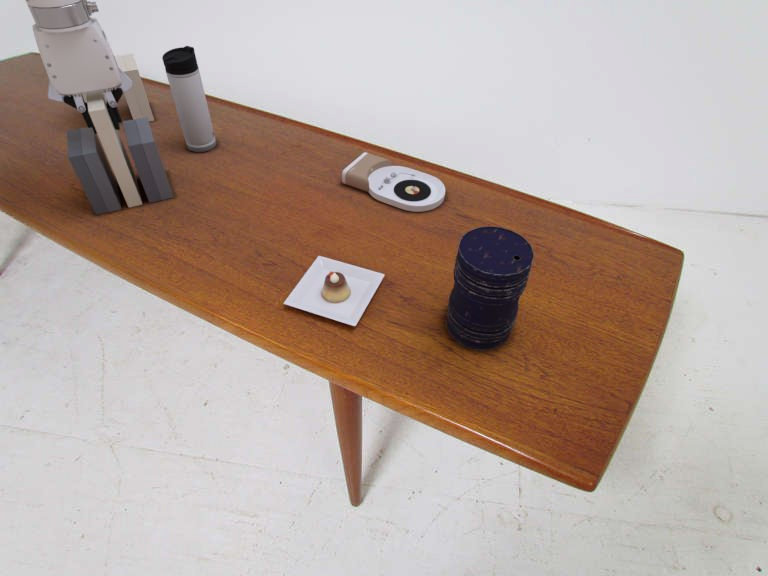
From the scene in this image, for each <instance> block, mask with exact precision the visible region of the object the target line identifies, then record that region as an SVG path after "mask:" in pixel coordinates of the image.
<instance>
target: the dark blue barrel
mask: <svg viewBox="0 0 768 576" xmlns="http://www.w3.org/2000/svg"><path fill="white" fill-rule="evenodd" d="M534 258H535V252H534V248H533V247H532V245H531V244H530V241H528V240H527V239H526V238H525V237H524V236H523V235H521V234H519V233H518V232H515V231H513V230H511V229H508V228H505V227H500V226H492V225H490V226H489V225H488V226H487V225H486V226H479V227H475V228H473V229H470V230H468V231H467V232H466V233H464V234H463V235H462V236H461V238H460V240H459V242H458V248H457V254H456V257H455V262H454V268H453V272H452V273H453V281H454V283H453V288H452V289H451V291H450V294H449V295H448V303H447V309H446V310H447V314H446V321H445V323H446V328H447V331H448V333H449V335H450V336H451V338H452V339H453V340H455V342H457V344H459V345H462V346H463V347H465V348H468V349H471V350H475V351H491V350H495V349H498V348H500V347H501V346H503V345H504V344H505V343H506V342H507V341H508V340H509V338H510V335H511V331H512V329H513V327H514V325H515V323H516V319H517V317H518V314H519V301H520V299H521V296H522V295H523V294H524V292H525V290H526V288H527V284H528V281H529V277H530V275H531V274H530V273H531V269H532V268H531V267H532V265H533V262H534Z"/></svg>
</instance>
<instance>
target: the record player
mask: <svg viewBox="0 0 768 576" xmlns="http://www.w3.org/2000/svg"><path fill="white" fill-rule="evenodd" d="M341 182H342V184H344V185H347V186H349V187H352V188H355V189H358V190H361V191H363V192H366V193H369V195H370V196H371V197H372V198H373V199H375V200H376V201H378V202H381V203H384V204H386V205H390V206H392V207H395V208H397V209H401V210H404V211H408V212H412V213H413V212H415V213H421V212H427V211H432V210H434V209H437V208H438V207H440V206H441V205H442V204H443V202H444V201H445V196H446V186H445V184H444V182H442V181H441V180H440V179H439V178H438V177H436V176H435V175H431V174H429V173H426V172H423V171H421V170H416V169H413V168H411V167H407V166H402V165H393V162H392V160H390V159H388V158H385V157H382V156H378V155H376V154H372V153H369V152H366V151H364V152H362V153H361V154H360V155H359V156H358V157H357V158H356V159H355V160H353V161H352V162H351V163H350V164H349V165H347V166H346V167H345V168H344V169H343V170H342V173H341Z"/></svg>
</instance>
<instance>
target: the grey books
mask: <svg viewBox="0 0 768 576" xmlns="http://www.w3.org/2000/svg"><path fill="white" fill-rule="evenodd" d="M121 123H122V126H123V131H124V135H125V139H126V144H127V147H128V151H129V153H130V156H131V157H132V161H133V163H134V166H135V168H136V171H137V174H138V176H139V179H140V182H141V184H142V187H143V189H144V192H145V195H146V199H147V200H148V203H149V204H151V203H156V202H161V201H165V200H169V199H173V198H174V196H173V191H172V188H171V184H170V182H169V179H168V175H167V172H166V169H165V166H164V163H163V160H162V157H161V154H160V151H159V148H158V145H157V142H156V140H155V136H154V132H153V130H152V128H151V124H150V122H149V121H148V118H147V117H145V118H139V119H133V118H132V119H128V120H127V119H126V120H122V122H121ZM66 140H67V141H66V144H67V157H68V160H69V162H70V164H71V167H72V168H73V170H74V173H75V175H76V176H77V179H78V181H79V183H80V185H81V187H82V189H83V191H84V194H85V195H86V197H87V200H88V202H89V204H90V206H91V207H92V210H93V212H94V214H95V216H98V215H103V214H107V213H112V212H117V211H120V210H122V206H121V205H122V204H121V200H120V199H121V198H120V193H119V188H118V187H119V186H118V181H117V179H116V177H115V174H114V172H113V169H112V167H111V165H110V162H109V160H108V157H107V155H106V153H105V150H104V148H103V145H102V143H101V141H100V138H99V136H98V134H95V133H94V131H93V129H92V127H91V128H88V127H87V126H86V127H81V128H76V129H75V128H74V129H70V130H66Z"/></svg>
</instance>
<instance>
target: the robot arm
mask: <svg viewBox="0 0 768 576" xmlns="http://www.w3.org/2000/svg"><path fill="white" fill-rule="evenodd" d="M25 2H26V4H27V7H28V9H29V12H30V14H31V17H32V18H33V20H34V21H33V22H34V24H32V31H33V35H34V39H35V43H36V46H37V49H38V53H39V55H40V57H41V61H42V63H43V66H44V68H45V71H46V73H47V76H48V87H47V98H48V100H51V101H55V102H60V103H65V104H66V105H68V106H70V107H72V108H73V109H76V110H77V111H78V112H79V113H81V115H82V117H83V119H84V122H85V124H86V127H88V128H91V127H92V129H93V131H94V133H95V134H97V131H96V129H95V126H94V124H93V122H92V119H91V117H90V114H89V112H88V105H87V103H86V102H85V101H84V98H83V95H82V93H87V92H94V91H100V90H102V91H103V93H104V95H105V98H106V101H107V103H106V104H107V109H108V112H109V114H110V117H111V120H112V122H113V125H114V127H115V130H116V129H117V130H118V131H120V130H121V127H120V123H123V122H122V121H123V119H122V117H121V114H120V111H119V109H118V102H119V101H120V100H121V98H122V96H123V95H124V92H126V91H128V90H129V89H130V88H132V87H133V83H132V81H131V80H130V79H129V78H128V76H127V75H126V74H125V73H124V72H123V71H122V70H121V69H120V68H119V67H118V65H117V62H116V60H115V57H114V56H115V55H114V52H113V50H112V47H111V44H110V43H109V40H108V37H107V36H106V33H105V32H104V29H103V28H102V26H101V24H100V22H99V20H98V19H97V18H96V17H94V16H92V14H95V13H99V7H98V4H97V1H90V0H89V1H88V0H25ZM97 135H98V134H97Z"/></svg>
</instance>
